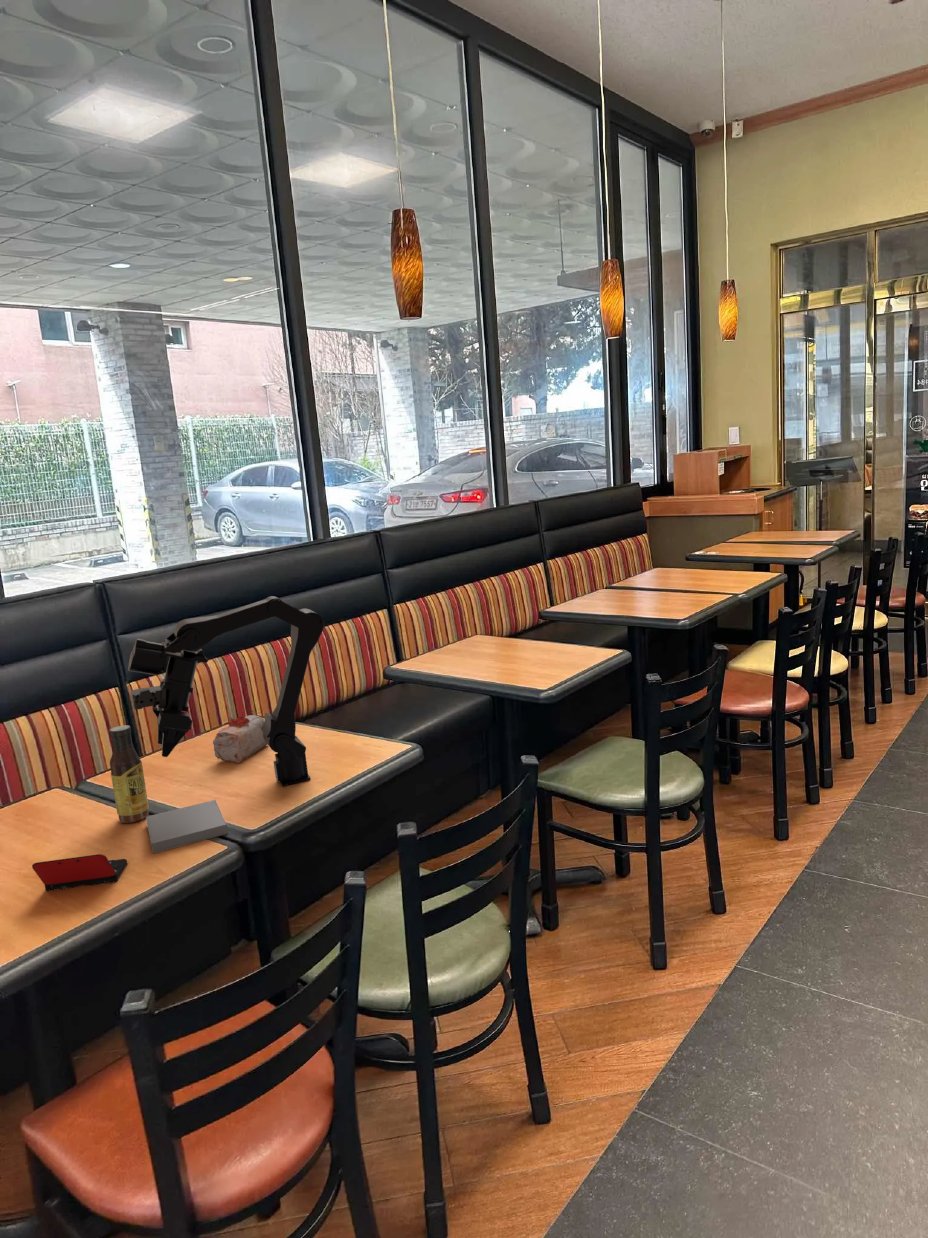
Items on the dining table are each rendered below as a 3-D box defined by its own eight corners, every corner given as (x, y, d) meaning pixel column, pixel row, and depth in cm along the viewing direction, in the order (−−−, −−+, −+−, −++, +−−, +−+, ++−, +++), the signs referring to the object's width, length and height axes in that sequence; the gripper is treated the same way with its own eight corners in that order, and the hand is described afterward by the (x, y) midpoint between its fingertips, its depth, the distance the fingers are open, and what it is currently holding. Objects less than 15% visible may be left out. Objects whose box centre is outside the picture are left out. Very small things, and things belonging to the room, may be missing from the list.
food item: (241, 766, 200) (235, 727, 198) (213, 764, 203) (207, 726, 201) (272, 745, 212) (266, 708, 210) (245, 744, 215) (240, 708, 213)
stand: (216, 808, 176) (215, 799, 176) (227, 833, 164) (226, 824, 163) (147, 825, 171) (145, 816, 170) (153, 853, 158) (151, 843, 158)
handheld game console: (129, 863, 156) (123, 826, 154) (111, 893, 145) (104, 854, 144) (60, 872, 155) (53, 835, 153) (37, 903, 144) (29, 863, 143)
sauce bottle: (139, 825, 172) (122, 734, 167) (112, 824, 173) (95, 734, 169) (156, 811, 178) (141, 722, 174) (130, 810, 179) (114, 723, 175)
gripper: (135, 663, 180) (119, 732, 180) (142, 682, 163) (124, 759, 164) (188, 672, 185) (172, 739, 185) (200, 691, 168) (182, 765, 169)
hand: (162, 750), depth 176 cm, fingers open, 9 cm apart
